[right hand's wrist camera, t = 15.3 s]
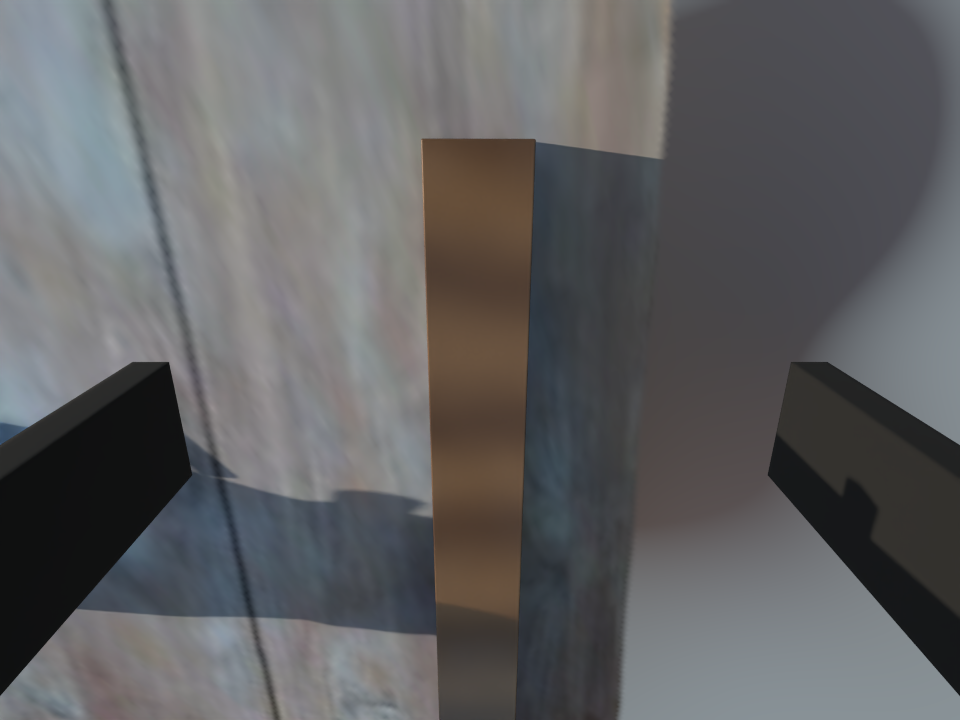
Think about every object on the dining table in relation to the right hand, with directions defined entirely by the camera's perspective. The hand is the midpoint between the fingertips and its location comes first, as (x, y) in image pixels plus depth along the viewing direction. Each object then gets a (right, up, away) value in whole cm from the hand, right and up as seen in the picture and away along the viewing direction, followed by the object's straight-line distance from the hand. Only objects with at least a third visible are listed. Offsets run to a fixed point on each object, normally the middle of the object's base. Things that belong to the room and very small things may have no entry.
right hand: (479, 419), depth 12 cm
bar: (0, -15, +34) cm, 37 cm away
